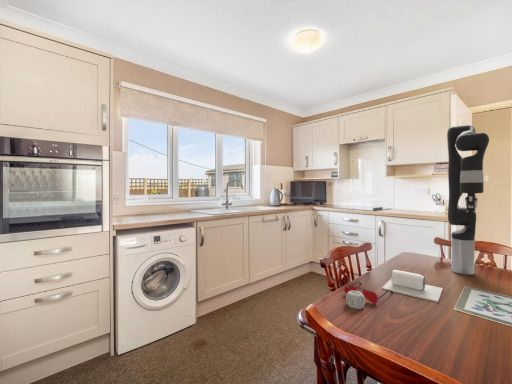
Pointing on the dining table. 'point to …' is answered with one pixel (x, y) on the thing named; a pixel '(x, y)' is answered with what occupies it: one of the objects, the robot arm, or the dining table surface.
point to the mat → (416, 291)
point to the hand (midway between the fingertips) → (471, 220)
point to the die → (355, 299)
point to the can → (408, 279)
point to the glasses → (365, 293)
